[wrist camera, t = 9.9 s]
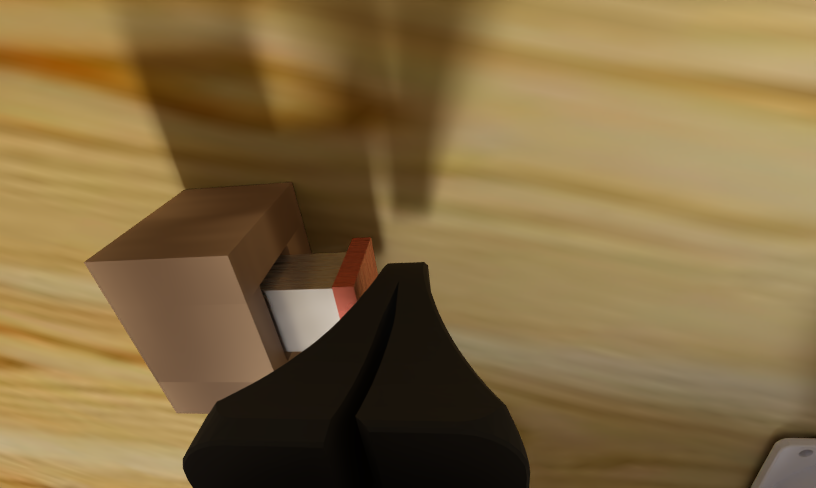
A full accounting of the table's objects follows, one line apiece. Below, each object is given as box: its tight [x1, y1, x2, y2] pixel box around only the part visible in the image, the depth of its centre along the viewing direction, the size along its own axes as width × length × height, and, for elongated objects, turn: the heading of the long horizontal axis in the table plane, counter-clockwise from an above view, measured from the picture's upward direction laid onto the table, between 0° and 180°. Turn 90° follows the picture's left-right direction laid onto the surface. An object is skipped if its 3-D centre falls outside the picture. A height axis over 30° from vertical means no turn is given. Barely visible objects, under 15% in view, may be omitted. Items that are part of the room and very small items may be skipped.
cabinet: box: [84, 182, 312, 414], centre depth 14 cm, size 4×6×5 cm, turn 7°
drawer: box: [259, 237, 378, 352], centre depth 13 cm, size 6×3×3 cm, turn 97°
